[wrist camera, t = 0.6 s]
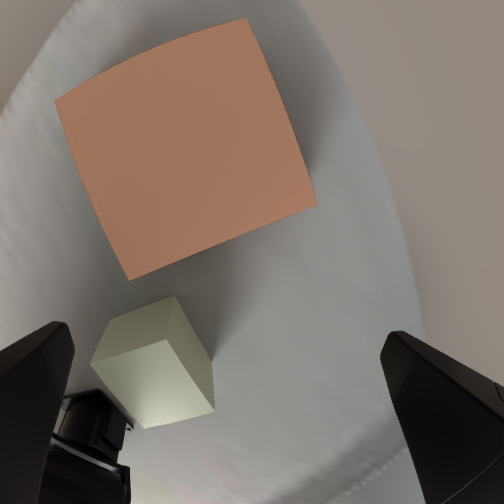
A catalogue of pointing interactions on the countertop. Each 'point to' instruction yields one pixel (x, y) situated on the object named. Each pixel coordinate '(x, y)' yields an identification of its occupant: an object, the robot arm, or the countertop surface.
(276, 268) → the countertop surface
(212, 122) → the terracotta top brick
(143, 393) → the sage green brick
